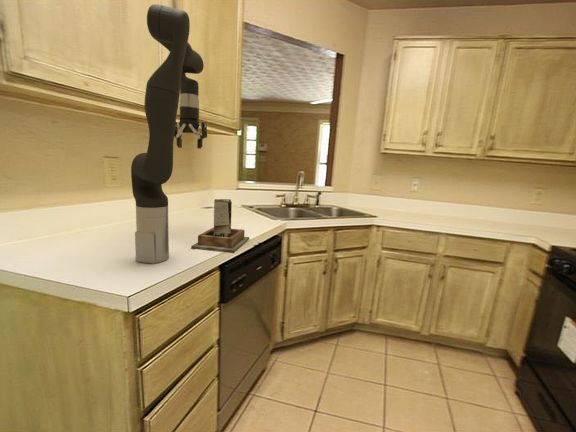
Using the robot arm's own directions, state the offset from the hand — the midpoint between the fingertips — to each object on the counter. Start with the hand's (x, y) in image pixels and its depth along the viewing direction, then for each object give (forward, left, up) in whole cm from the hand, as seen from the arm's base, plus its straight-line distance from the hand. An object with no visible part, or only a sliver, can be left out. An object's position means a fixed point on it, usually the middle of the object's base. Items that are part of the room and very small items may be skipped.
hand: (189, 148), depth 127 cm
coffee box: (-11, -19, -35) cm, 42 cm away
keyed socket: (-11, -19, -36) cm, 42 cm away
